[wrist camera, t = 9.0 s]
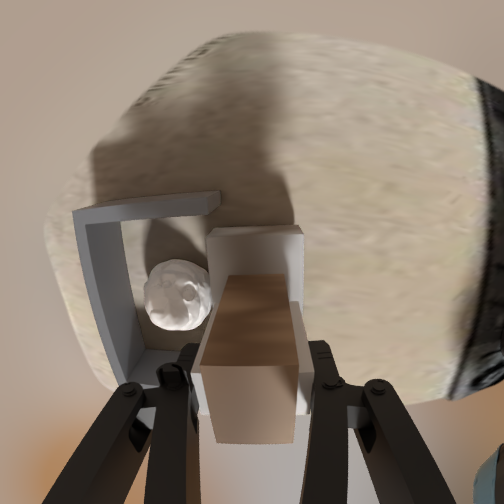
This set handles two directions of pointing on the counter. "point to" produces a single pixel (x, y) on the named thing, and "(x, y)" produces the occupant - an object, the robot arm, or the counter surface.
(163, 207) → the box
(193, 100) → the counter surface
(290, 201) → the counter surface
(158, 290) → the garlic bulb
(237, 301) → the white-trimmed wooden block
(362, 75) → the counter surface
